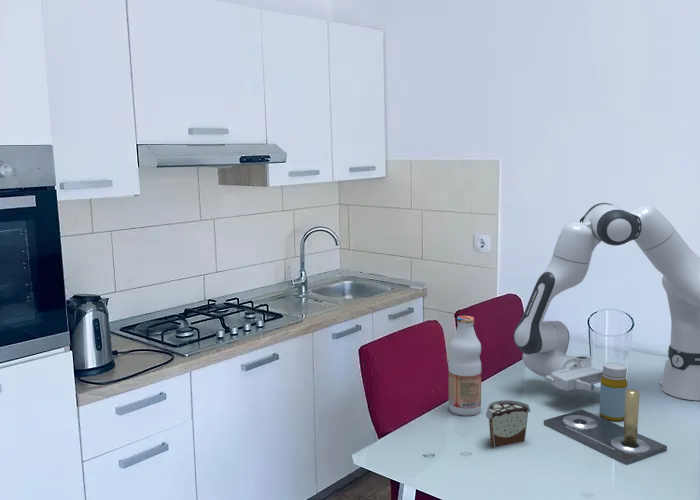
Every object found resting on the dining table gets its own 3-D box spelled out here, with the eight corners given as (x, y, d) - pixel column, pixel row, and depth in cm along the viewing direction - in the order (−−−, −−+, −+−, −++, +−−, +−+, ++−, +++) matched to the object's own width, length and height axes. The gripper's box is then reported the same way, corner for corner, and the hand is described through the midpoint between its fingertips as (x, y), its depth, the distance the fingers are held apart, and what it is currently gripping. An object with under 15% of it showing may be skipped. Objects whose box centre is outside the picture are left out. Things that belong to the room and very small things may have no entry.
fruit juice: (441, 410, 189) (442, 317, 185) (460, 401, 195) (461, 311, 191) (468, 419, 182) (470, 323, 178) (487, 409, 189) (488, 317, 185)
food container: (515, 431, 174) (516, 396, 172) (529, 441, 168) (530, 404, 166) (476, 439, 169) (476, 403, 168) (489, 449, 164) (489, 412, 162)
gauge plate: (582, 413, 185) (584, 361, 183) (666, 450, 161) (670, 391, 159) (543, 424, 178) (545, 371, 176) (626, 464, 154) (629, 403, 152)
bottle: (628, 422, 178) (631, 370, 176) (601, 420, 180) (604, 369, 177) (623, 412, 185) (625, 362, 183) (597, 411, 186) (599, 361, 184)
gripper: (541, 366, 191) (578, 380, 179) (590, 355, 201) (627, 367, 189) (541, 386, 192) (577, 402, 180) (589, 374, 202) (627, 388, 189)
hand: (603, 384), depth 184 cm, fingers open, 8 cm apart
